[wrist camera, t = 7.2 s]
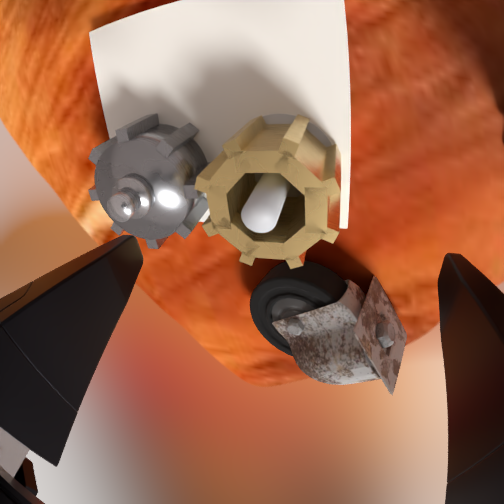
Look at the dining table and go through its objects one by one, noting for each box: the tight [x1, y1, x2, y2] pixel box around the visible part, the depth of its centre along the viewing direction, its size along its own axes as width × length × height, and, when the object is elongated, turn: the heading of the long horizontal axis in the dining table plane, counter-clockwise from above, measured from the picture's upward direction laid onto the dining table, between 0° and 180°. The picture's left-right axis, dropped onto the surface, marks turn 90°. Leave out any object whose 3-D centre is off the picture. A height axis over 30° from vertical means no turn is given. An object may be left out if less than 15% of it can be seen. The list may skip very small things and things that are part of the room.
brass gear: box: [194, 114, 341, 269], centre depth 17 cm, size 7×7×5 cm
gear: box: [88, 113, 211, 249], centre depth 18 cm, size 8×8×6 cm
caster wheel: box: [250, 260, 407, 395], centre depth 24 cm, size 7×11×10 cm
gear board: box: [89, 0, 351, 233], centre depth 16 cm, size 16×15×8 cm
